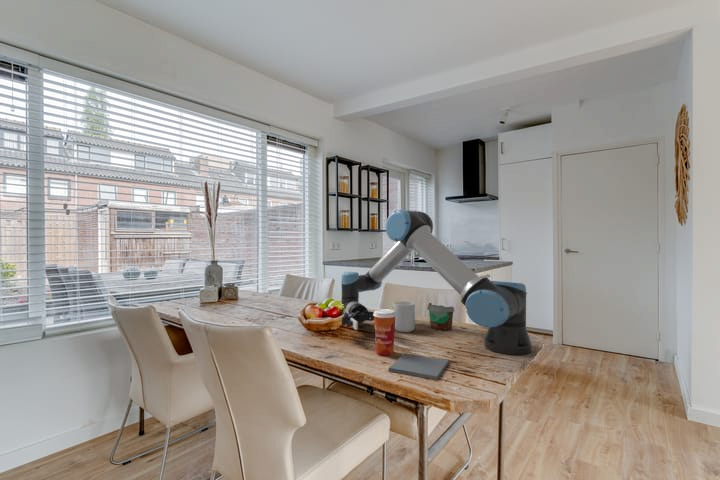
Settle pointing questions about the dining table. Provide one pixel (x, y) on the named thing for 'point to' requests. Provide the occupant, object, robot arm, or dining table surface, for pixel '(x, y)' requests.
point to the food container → (440, 317)
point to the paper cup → (384, 331)
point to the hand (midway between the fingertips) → (374, 324)
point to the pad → (419, 366)
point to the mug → (404, 316)
